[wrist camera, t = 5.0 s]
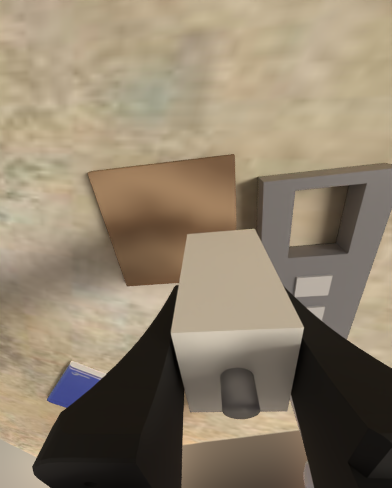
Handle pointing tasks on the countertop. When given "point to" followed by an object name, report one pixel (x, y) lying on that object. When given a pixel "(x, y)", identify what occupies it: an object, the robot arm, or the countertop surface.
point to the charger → (234, 327)
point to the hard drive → (74, 384)
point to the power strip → (327, 255)
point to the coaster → (163, 212)
